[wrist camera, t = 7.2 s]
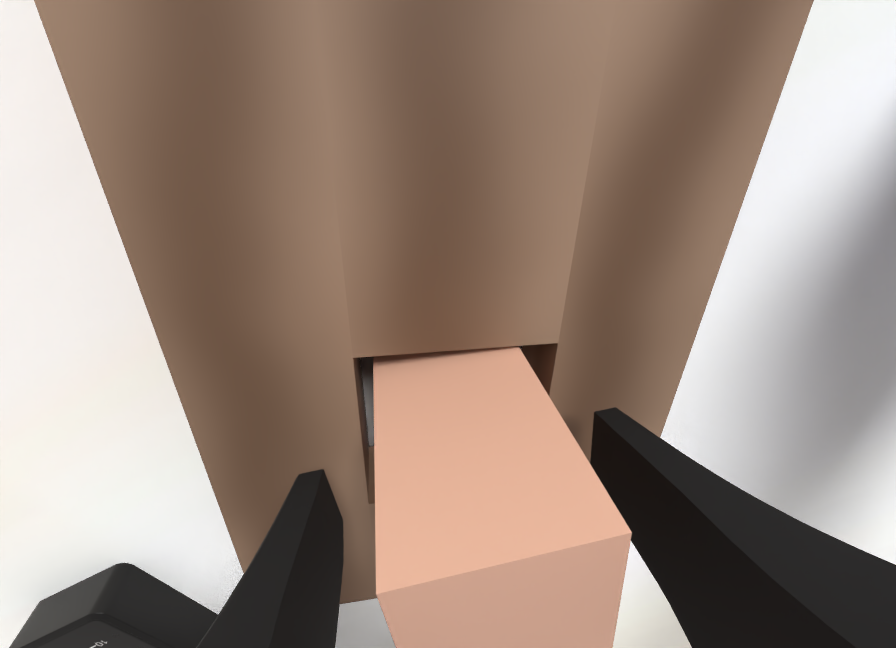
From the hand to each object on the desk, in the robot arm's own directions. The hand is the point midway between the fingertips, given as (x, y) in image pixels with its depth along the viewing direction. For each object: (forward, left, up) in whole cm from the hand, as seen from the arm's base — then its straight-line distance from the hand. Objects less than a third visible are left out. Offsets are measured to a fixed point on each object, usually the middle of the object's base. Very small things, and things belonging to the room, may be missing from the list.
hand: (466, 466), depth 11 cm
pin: (0, 0, -4) cm, 4 cm away
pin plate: (0, -2, -4) cm, 4 cm away
